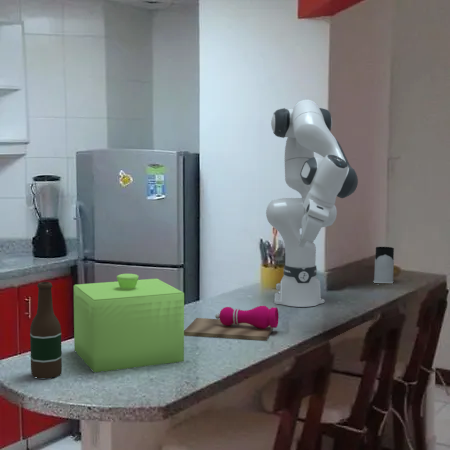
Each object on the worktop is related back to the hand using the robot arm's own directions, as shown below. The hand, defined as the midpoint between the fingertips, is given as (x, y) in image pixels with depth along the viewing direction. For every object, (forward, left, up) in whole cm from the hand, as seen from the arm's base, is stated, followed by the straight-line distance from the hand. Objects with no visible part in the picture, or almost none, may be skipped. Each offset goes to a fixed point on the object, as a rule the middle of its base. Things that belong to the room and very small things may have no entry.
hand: (300, 245), depth 235 cm
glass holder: (-75, +53, -27) cm, 96 cm away
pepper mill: (+4, -8, -22) cm, 24 cm away
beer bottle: (+39, -75, -27) cm, 89 cm away
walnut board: (0, -22, -27) cm, 35 cm away
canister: (+24, -54, -27) cm, 65 cm away
